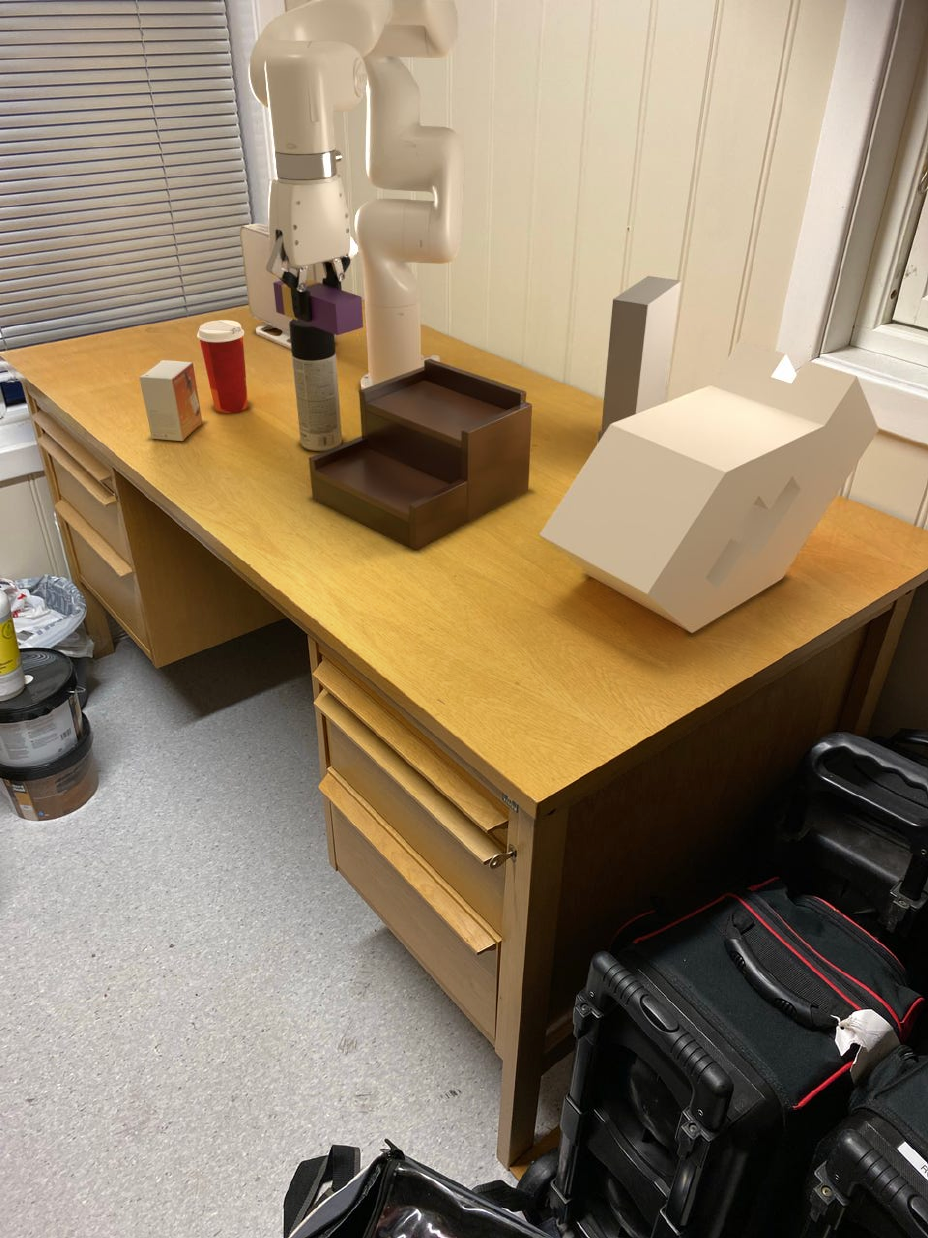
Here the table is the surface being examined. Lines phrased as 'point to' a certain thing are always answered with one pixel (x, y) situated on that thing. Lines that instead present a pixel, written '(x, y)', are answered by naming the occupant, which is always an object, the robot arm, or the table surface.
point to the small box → (171, 400)
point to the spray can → (316, 386)
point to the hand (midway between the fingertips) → (318, 313)
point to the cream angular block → (715, 485)
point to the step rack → (429, 454)
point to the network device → (266, 282)
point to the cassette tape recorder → (640, 348)
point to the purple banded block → (324, 307)
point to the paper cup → (225, 364)
